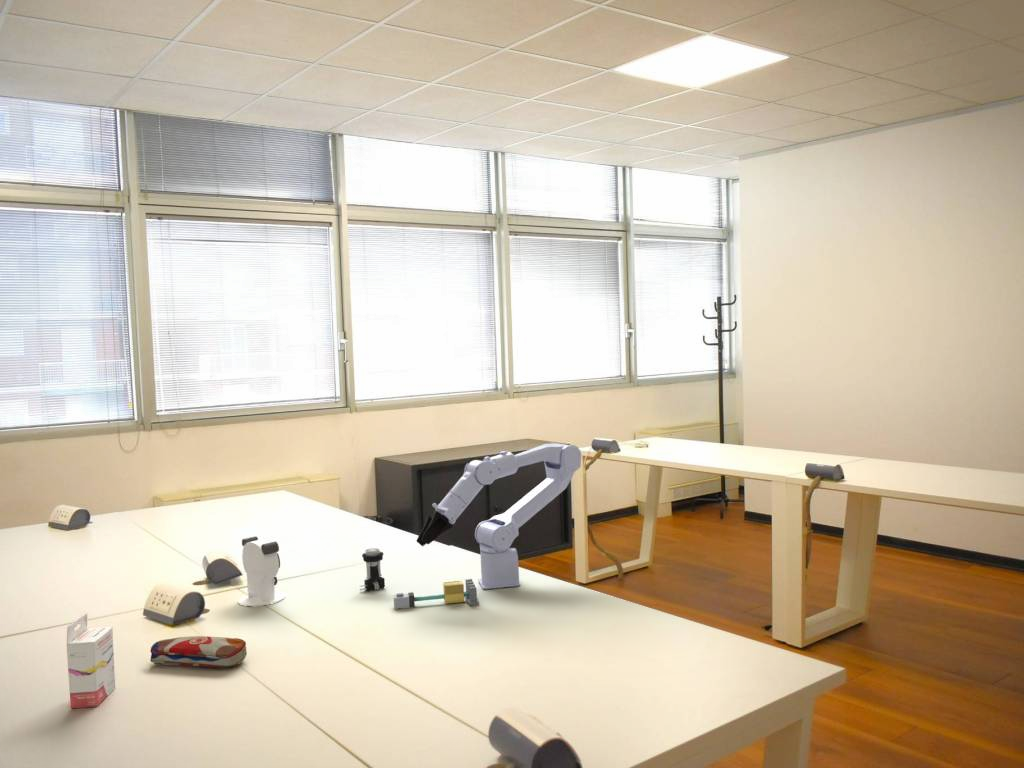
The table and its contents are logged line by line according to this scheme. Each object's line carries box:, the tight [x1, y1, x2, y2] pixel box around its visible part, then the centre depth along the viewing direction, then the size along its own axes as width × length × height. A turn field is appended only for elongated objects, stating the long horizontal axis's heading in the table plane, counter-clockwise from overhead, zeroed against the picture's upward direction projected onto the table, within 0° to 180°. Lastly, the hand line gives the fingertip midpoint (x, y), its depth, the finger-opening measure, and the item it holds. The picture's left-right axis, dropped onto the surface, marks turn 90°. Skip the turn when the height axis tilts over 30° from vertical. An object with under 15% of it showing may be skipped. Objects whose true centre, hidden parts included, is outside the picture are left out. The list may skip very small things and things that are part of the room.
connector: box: [393, 592, 410, 610], centre depth 199 cm, size 4×3×3 cm
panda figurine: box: [237, 535, 286, 607], centre depth 209 cm, size 12×11×15 cm
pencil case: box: [150, 635, 248, 668], centre depth 168 cm, size 11×20×5 cm, turn 62°
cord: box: [414, 591, 468, 602], centre depth 200 cm, size 16×1×1 cm, turn 101°
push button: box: [359, 547, 386, 592], centre depth 214 cm, size 7×5×10 cm
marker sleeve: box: [442, 580, 465, 605], centre depth 201 cm, size 4×3×4 cm
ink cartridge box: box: [66, 613, 116, 709], centre depth 152 cm, size 9×5×15 cm, turn 5°
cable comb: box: [464, 578, 480, 607], centre depth 202 cm, size 2×9×4 cm, turn 11°
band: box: [407, 591, 416, 608], centre depth 199 cm, size 1×3×3 cm, turn 10°
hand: (422, 542), depth 203 cm, fingers open, 7 cm apart
